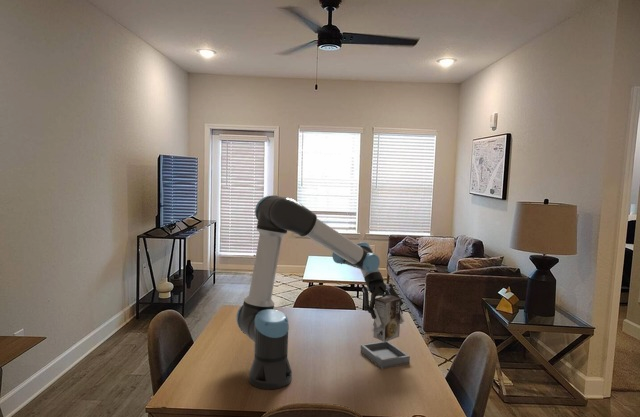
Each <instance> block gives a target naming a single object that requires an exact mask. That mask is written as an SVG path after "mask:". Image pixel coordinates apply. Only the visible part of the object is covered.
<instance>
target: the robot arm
mask: <svg viewBox="0 0 640 417" xmlns="http://www.w3.org/2000/svg"><path fill="white" fill-rule="evenodd" d="M254 214H255V215H254V216H255V218H256V219H257V224H256V231H257V232H258V233H259V236H258V240H257V241H258V242H257V248H256V253H255V254H256V255H255V257H254V258H255V260H254V263H253V265H254V266H253V271H252V276H251V281H250V282H251V283H250V288H249V294H248V296H247V297H245V298H244V299H243V303H242V305H241V306H240V307H239V308H238V309H237V312H236V324H237V326H238V328H239V329H240V331H241V332H242V333H243V334H244V335H246V336H247V337H249V339H250V340H252V342H254V358H253V361H252V363H251V366H250V370H249V371H248V372H249V373H248V381H249V383H250V384H251V386H253V387H255V388H258V389H262V390H276V389H281V388H283V387H286V386H287V385H289V384H290V383H291V382H292V379H293V377H292V376H293V370H292V368H291V365H290V361H289V358H288V352H289V351H288V349H289V348H288V346H289V344H288V343H289V330H290V329H289V328H290V327H289V318H288V316H287V314H286V313H284V312H283V311H281V310H276V309H275V302H274V301H273V299H272V296H273V290H274V285H275V279H276V274H277V268H278V263H279V257H280V252H281V246H282V239H283V237H284V236H285V235H287V234H288V232H292V233H294V234H296V235H298V236H299V237H303V238H305V237H307V238H309V239H311V240H312V241H314V242H315V243H317V244H319V245H320V246H322V247H323V248H326V249H327V250H329V251H330V252H331V253H332V254H331V255H332V260H333V262H334V263H336V264H339V265H347V266H350V267H353V268H357V269H359V270H360V271H361V274H362V277H363V280H364V282H365V285H366V286H364V287H362V289H361V292H362V294H363V295H362V296H363V310H364V311H365V312H368V313H369V314H370V316H371V318H372V319H373V321H374V320H375V323H376V325H377V327H380V326H381V321H380V318H379V316H378V313H377V310H376V309H375V298H377V297H383V296H386V295H392V296H395V297H397V298H400V299H401V296H399V295H398V293H397V292H396V290H395V288H394V287H393V284H392V283H390V284H385V282H384V278H383V275H382V273H381V270H380V267H379V266H380V262H381V260H380V257H379V256H378V255H377V254H375V253H373V249H372V248H371V246H370V244H369V243H368V242H366V241H362V242H358V243H356V242H354V241H353V240H351V239H349V238H348V237H346V236H344V235H343V234H341V233H340V232H338V231H337V230H335V228H332V227H331V226H329V225H327V224H326V223H325V222H323V221H321V220H320V219H318V216H317V214H316V213H314V212H313V211H312V210H310V209H309V208H307V207H305V206H304V205H303V204H302V203H300V202H298V201H297V200H295V199H294V198H291V197H286V196H279V195H266V196H263V197H262V198H261V199H259V201H258V202H257V204H256V206H255V208H254ZM369 293H370V296H369ZM369 297H370V299H369ZM403 305H404V301H403V300H402V299H401V305H400V325H402V324H404V322H405V318H404V316H403V314H404V312H403V310H402V308H401V307H402V306H403Z"/></svg>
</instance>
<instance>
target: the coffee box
mask: <svg viewBox="0 0 640 417" xmlns="http://www.w3.org/2000/svg"><path fill="white" fill-rule="evenodd" d="M401 300H402V298H401V297H400V298H397V297H395V296H392V295H386V296H378V297H376V298H375V305H374V309H376V310H377V313H378V316H379V318H380V321H381V326H380V327H377V325H376V323H375V320H374V319H373V323H374V326H373V334H372V336H373V338H374V339H377V340H379V341H380V342H382V341H383V342H387V341H389V342H390V341H391V340H394V339H397V338H399V337H400V332H401V331H400V329H401V324H400V305H401Z"/></svg>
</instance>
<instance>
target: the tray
mask: <svg viewBox="0 0 640 417" xmlns="http://www.w3.org/2000/svg"><path fill="white" fill-rule="evenodd" d="M360 353H362V355H364V356H365V357H366V358H368V360H370V362H372V363H374V364H375V365H376V366H377V367H378V368H380V369H381V370H382V369H387V368H394V367H397V366H398V367H399V366H404V365H409V364H410V362H411V361H410V357H411V356H410V355H409V354H408V353H406V352H405V351H403V350H402V349H401V348H399V347H397V346H396V345H395V344H393V343H392V342H390V340H389V341H387V342H383V341H377V342H376V341H375V342H371V343H365V344H360Z"/></svg>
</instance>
